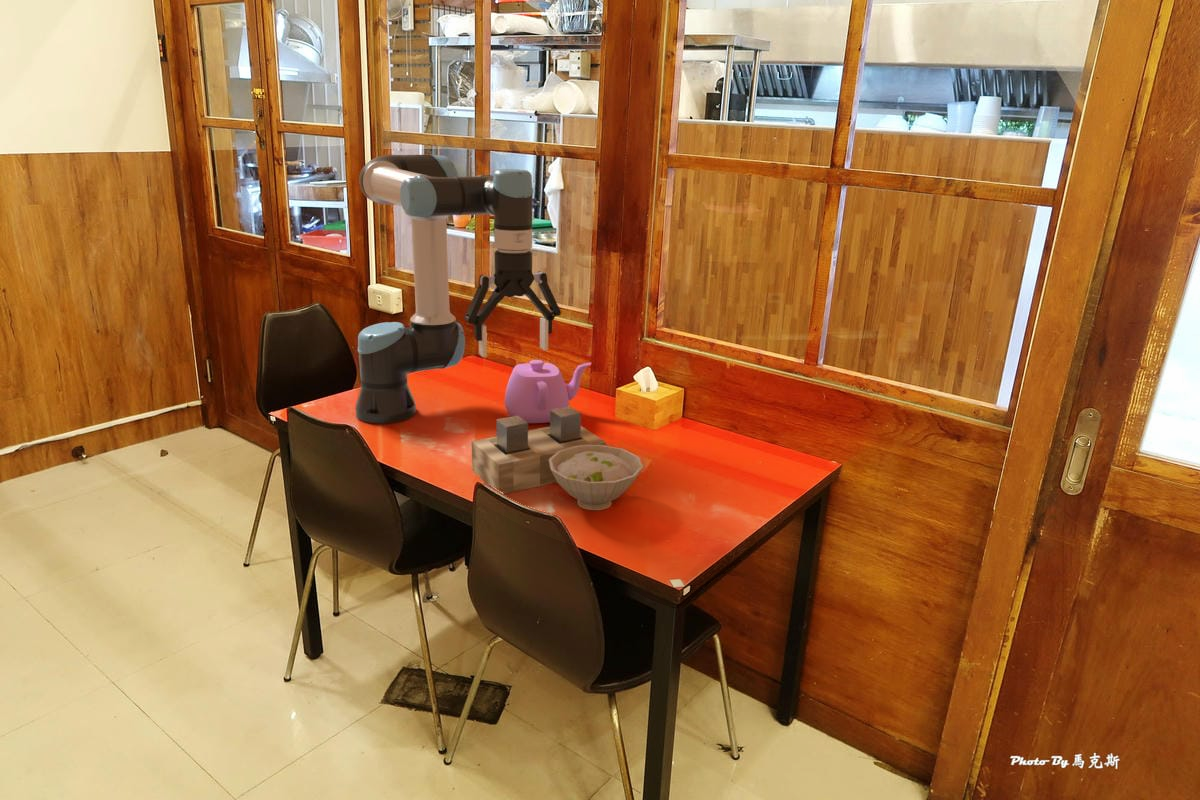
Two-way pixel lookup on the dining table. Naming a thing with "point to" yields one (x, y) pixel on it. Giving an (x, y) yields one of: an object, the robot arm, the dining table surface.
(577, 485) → the bowl
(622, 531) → the dining table surface
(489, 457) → the socket block
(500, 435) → the near peg
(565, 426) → the far peg
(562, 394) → the teapot
